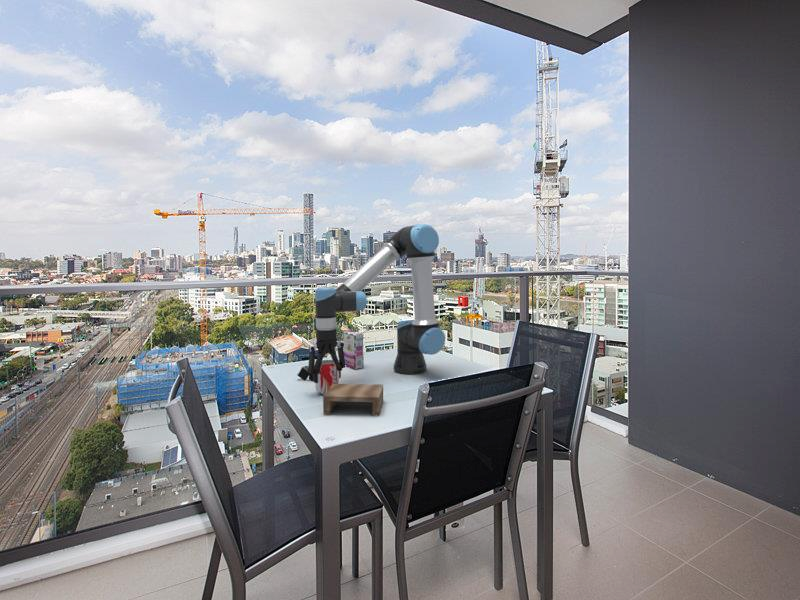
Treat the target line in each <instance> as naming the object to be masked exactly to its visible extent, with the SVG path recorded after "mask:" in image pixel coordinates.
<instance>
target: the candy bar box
mask: <svg viewBox="0 0 800 600" xmlns="http://www.w3.org/2000/svg"><path fill="white" fill-rule="evenodd" d="M342 335H343V343H344V347H343V351H344V358H345V365H347V366H348V367H347V368H349V367H350V368H349V369H352V370H355V371H357V370H362V369H364V367H365V366H364V333H360V332H355V331H344V332H343V333H342Z"/></svg>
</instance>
